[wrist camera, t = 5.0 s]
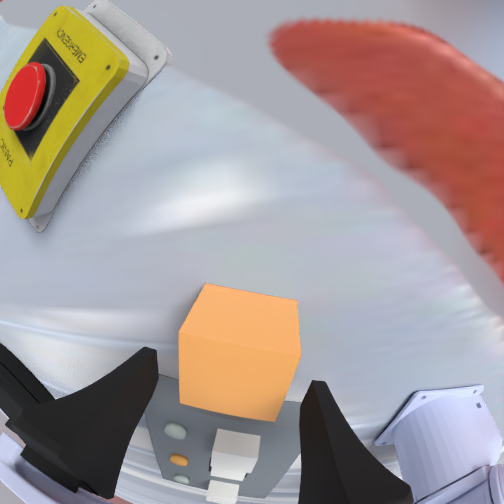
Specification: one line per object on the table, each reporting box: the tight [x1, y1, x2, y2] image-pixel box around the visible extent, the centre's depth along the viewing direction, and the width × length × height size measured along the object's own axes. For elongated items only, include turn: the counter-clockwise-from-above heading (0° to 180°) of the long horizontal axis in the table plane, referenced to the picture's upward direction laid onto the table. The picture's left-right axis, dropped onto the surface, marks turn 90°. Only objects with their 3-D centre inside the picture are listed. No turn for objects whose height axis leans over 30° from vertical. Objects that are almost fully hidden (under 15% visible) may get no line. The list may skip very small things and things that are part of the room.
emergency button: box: [0, 0, 173, 232], centre depth 10 cm, size 9×4×15 cm
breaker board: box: [144, 374, 301, 504], centre depth 19 cm, size 12×18×4 cm, turn 171°
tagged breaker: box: [211, 467, 246, 481], centre depth 19 cm, size 3×3×3 cm
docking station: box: [0, 344, 55, 434], centre depth 26 cm, size 25×40×5 cm, turn 124°
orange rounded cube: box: [179, 283, 301, 422], centre depth 13 cm, size 5×5×4 cm
